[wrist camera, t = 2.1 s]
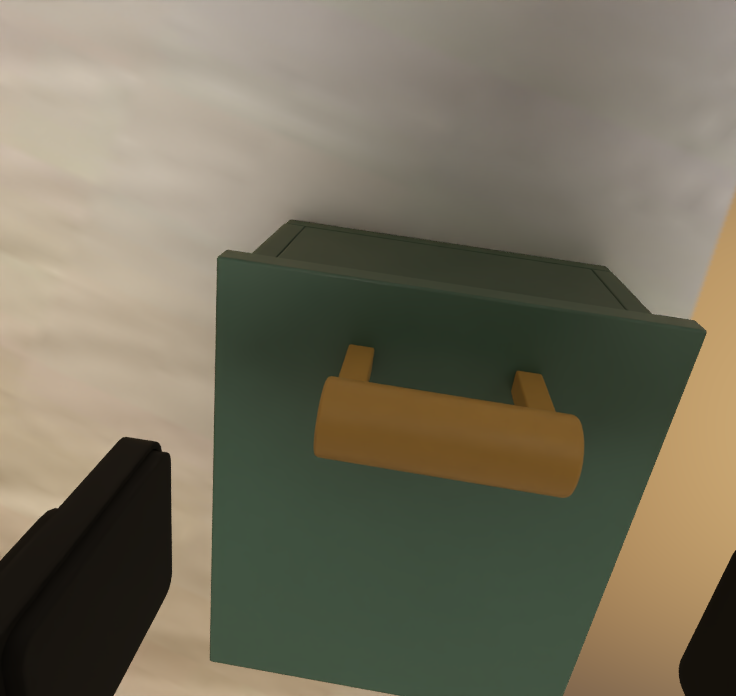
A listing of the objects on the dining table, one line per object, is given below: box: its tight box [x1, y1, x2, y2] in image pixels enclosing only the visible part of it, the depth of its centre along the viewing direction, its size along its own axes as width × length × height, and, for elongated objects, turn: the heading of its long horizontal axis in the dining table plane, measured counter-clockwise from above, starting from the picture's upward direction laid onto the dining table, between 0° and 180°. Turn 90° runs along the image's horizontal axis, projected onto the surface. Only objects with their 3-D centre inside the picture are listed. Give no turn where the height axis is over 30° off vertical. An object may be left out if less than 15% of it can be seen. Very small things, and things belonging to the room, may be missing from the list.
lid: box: [210, 250, 706, 696], centre depth 17 cm, size 15×13×5 cm
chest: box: [252, 220, 651, 314], centre depth 23 cm, size 15×13×8 cm
